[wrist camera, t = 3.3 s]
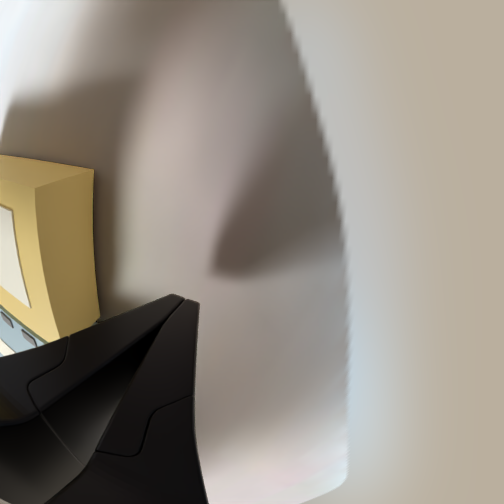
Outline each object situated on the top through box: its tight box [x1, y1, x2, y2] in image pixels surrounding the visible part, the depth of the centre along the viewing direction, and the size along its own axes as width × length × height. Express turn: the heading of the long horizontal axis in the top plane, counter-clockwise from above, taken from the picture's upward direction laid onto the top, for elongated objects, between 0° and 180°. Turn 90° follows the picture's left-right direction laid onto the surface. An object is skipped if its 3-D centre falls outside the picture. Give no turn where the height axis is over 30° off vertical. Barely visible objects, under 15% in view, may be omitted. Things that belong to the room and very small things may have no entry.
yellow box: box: [0, 155, 100, 342], centre depth 8 cm, size 6×8×3 cm
